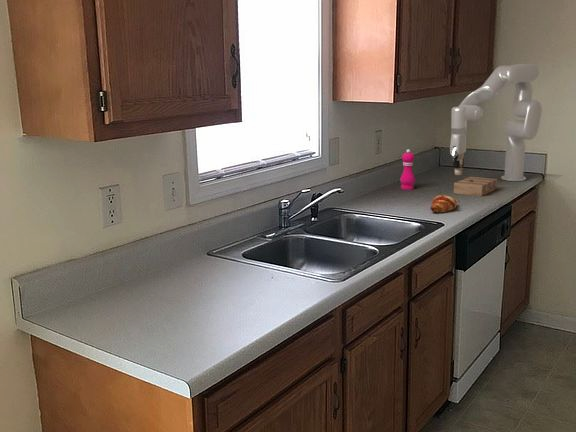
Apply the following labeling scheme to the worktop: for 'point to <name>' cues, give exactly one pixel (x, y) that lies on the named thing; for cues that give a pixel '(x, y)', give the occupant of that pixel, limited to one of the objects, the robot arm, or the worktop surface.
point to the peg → (459, 170)
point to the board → (475, 186)
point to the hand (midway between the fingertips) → (458, 166)
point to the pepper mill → (407, 171)
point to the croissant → (443, 204)
